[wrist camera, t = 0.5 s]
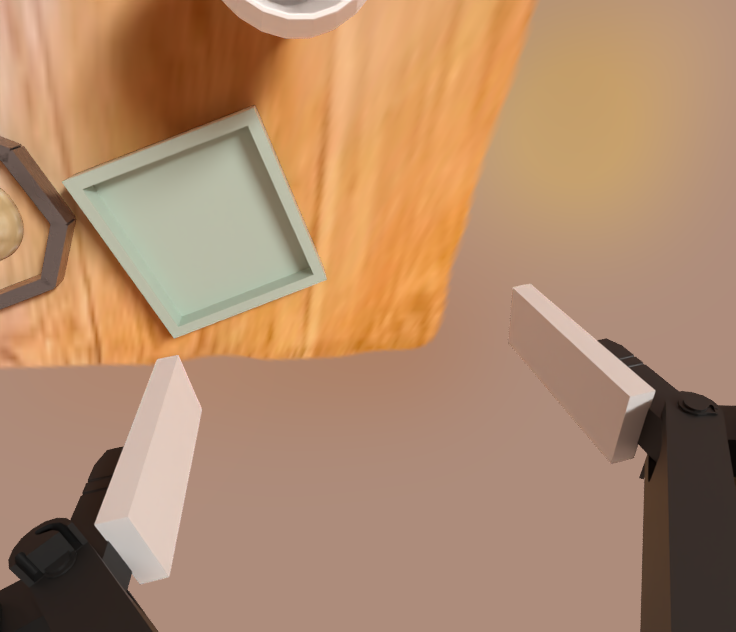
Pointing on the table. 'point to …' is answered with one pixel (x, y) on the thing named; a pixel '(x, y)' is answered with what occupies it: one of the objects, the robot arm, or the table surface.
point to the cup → (295, 15)
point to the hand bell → (9, 226)
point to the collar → (52, 210)
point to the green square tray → (202, 222)
